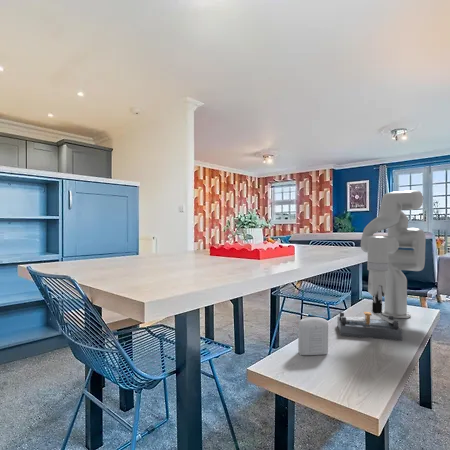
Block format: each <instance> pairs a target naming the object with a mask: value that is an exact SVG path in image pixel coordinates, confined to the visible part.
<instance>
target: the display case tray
mask: <svg viewBox="0 0 450 450" xmlns="http://www.w3.org/2000/svg"><path fill="white" fill-rule="evenodd" d="M363 315H364V318H365V320H366V322H347V321H346V317H342V320H341V316H345V313H344V312H339V316H337V317H336V318H337V323H336V325H337V329H338V332H339V334H340V335H339V336H342V337H351V338H352V337H354V338H365V339H377V340H378V339H379V340H389V341H392V340H393V341H403V330H402V329H401V327H400V326H399V321H398V320H394V319H395V318H394V317H393V316H388V318H389V319H393V320H394V321H393V324H392V323H390V322H388V321H386V320H384V319H377V318H371V316H372V315H373V313H372V312H371V311H363Z"/></svg>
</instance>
